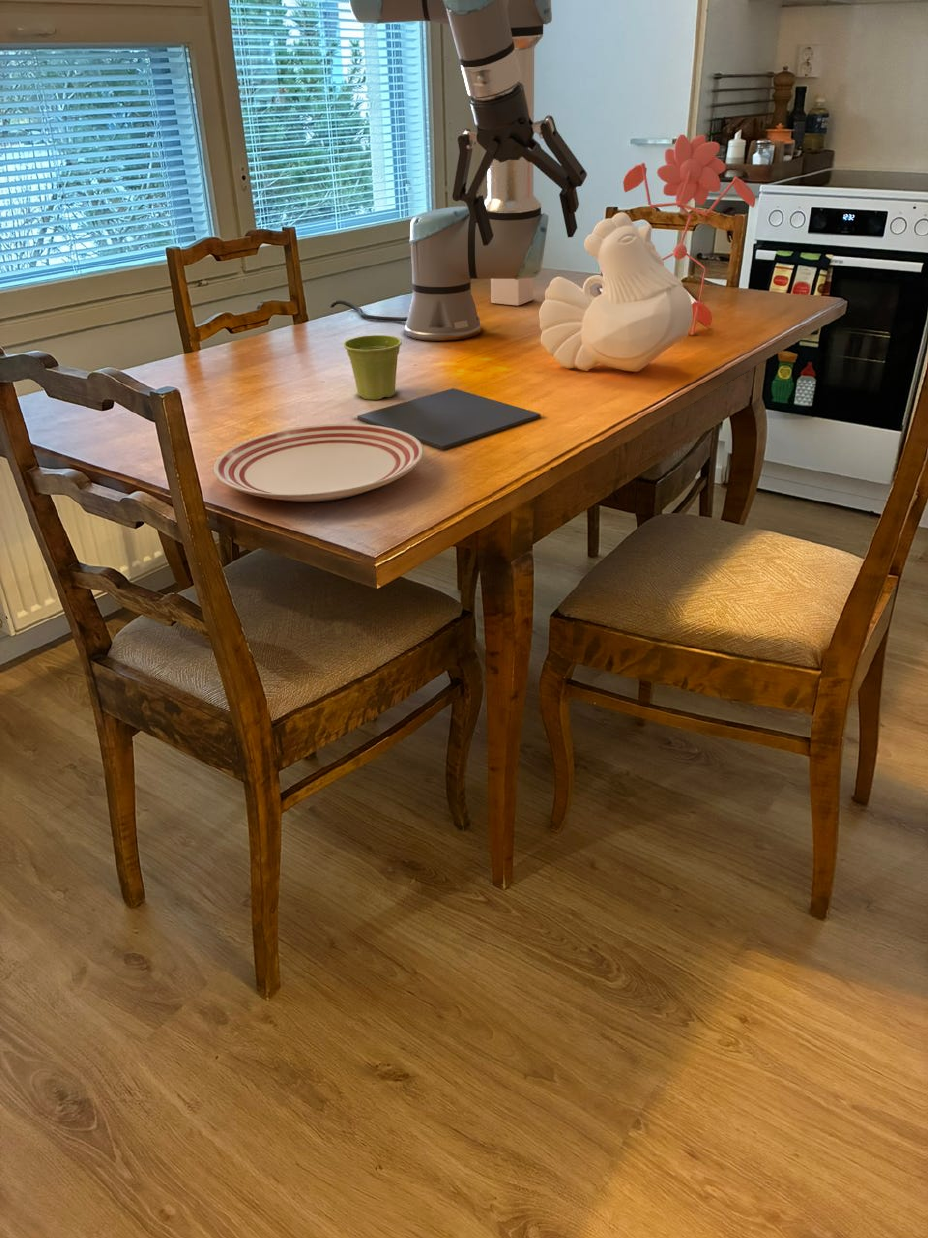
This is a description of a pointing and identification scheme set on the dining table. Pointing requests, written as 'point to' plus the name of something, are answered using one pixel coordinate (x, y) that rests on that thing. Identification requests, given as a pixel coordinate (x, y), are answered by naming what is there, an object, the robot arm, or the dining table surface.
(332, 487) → the dinner plate
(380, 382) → the plant pot
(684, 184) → the figurine
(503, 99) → the robot arm
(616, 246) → the decorative rooster
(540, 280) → the dining table surface
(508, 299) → the milk carton
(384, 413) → the placemat
